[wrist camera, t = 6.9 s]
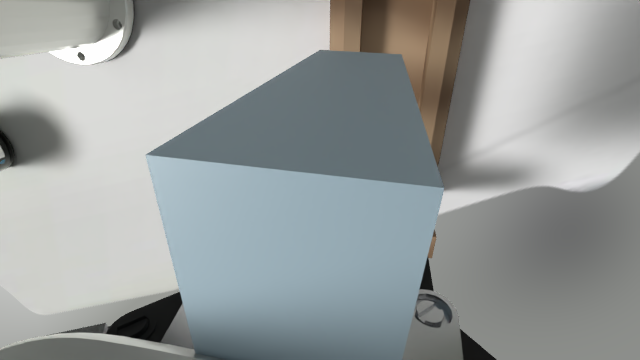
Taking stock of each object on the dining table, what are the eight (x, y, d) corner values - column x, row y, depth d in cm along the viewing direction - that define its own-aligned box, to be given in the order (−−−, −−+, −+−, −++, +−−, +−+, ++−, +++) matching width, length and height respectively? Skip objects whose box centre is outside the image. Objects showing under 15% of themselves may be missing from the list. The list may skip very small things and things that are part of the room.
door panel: (320, 49, 12) (144, 155, 3) (401, 54, 12) (443, 188, 3) (313, 282, 18) (243, 543, 9) (368, 291, 17) (348, 574, 9)
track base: (334, -78, 23) (308, -126, 15) (479, -83, 22) (543, -141, 13) (330, 184, 34) (313, 245, 25) (428, 192, 33) (445, 259, 24)
